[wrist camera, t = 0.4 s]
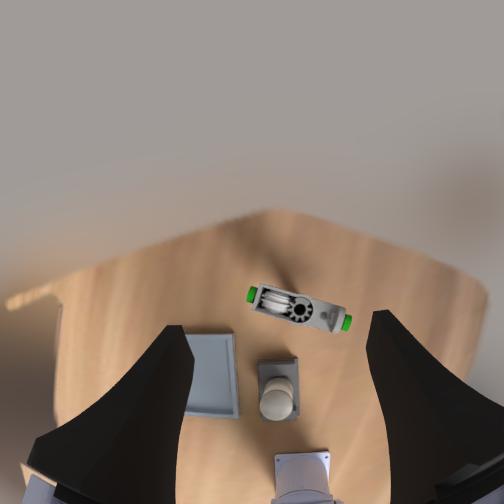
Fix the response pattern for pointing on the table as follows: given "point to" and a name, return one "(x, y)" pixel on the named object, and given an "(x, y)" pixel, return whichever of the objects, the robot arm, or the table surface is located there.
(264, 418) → the holder
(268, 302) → the mechanical component
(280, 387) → the white cylindrical jar
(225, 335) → the tray
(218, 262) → the table surface
